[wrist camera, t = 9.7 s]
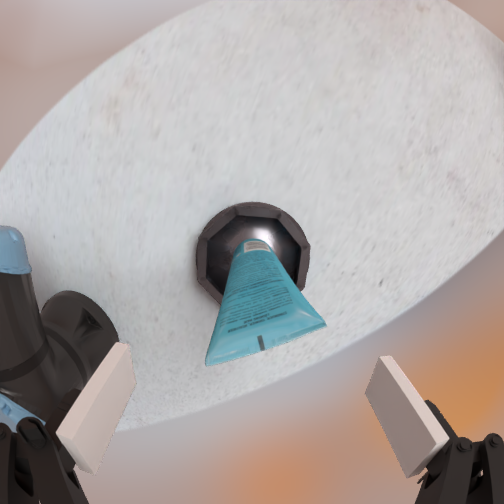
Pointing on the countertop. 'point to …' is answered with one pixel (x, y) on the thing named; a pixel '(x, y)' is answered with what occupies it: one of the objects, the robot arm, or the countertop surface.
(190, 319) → the countertop surface
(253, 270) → the tube
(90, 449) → the robot arm
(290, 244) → the octagonal bowl
